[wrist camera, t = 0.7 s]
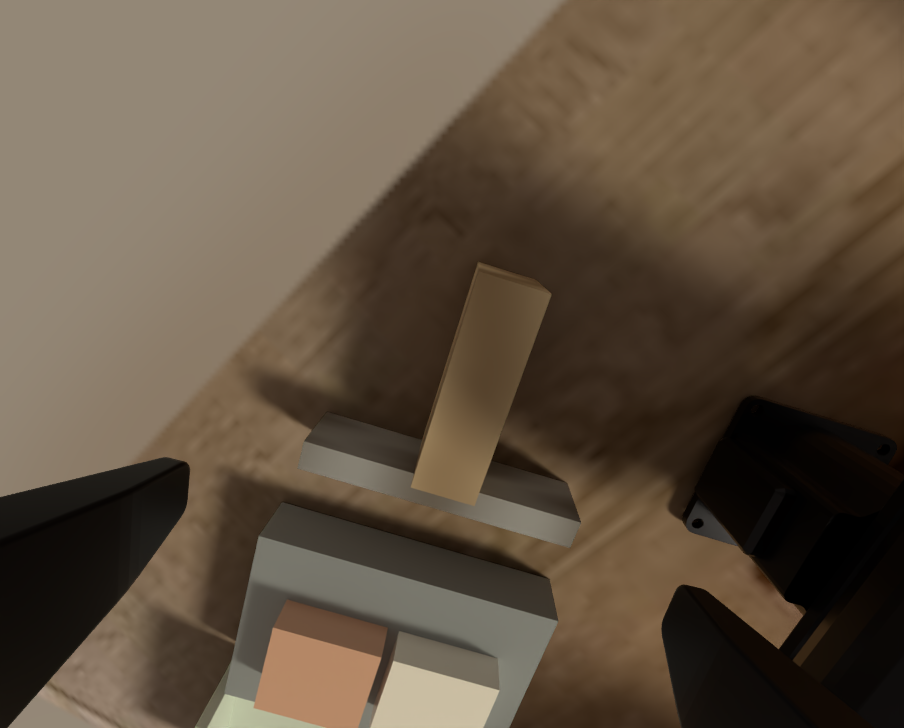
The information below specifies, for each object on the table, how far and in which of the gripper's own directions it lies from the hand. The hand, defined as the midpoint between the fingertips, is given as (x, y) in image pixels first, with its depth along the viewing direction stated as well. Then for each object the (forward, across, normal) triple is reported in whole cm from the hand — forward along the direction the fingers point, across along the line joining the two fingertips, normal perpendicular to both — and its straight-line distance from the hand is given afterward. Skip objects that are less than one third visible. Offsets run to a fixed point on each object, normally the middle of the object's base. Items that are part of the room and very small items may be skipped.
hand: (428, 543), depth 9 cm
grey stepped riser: (+12, 0, +13) cm, 18 cm away
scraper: (+12, -1, 0) cm, 12 cm away
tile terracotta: (+9, +3, +14) cm, 17 cm away
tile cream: (+9, -2, +14) cm, 17 cm away
